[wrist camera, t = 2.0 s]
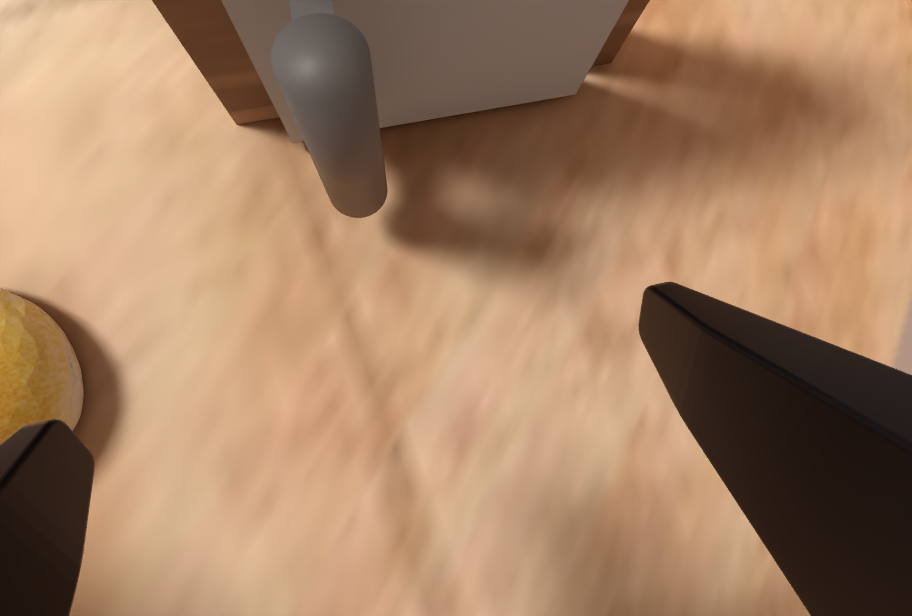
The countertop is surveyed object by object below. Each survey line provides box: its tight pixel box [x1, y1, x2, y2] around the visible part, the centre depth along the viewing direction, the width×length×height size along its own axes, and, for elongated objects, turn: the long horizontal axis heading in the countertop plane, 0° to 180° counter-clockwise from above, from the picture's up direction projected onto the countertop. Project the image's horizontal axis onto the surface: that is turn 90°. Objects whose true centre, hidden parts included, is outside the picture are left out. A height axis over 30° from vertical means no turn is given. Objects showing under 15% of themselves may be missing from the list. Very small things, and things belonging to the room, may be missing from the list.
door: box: [221, 0, 629, 218], centre depth 15 cm, size 6×12×14 cm, turn 103°
